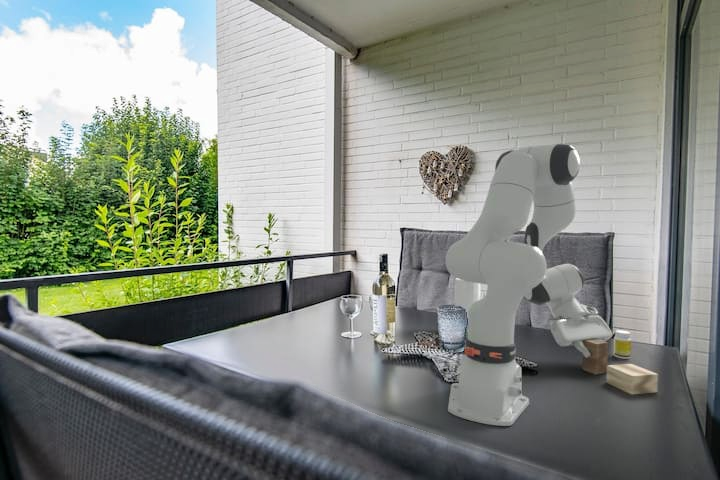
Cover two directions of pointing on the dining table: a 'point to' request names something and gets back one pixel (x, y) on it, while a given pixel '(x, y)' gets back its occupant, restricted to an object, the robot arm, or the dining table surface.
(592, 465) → the dining table surface
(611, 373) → the oak block
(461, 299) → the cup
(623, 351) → the supplement bottle
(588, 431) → the dining table surface
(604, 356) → the walnut block
